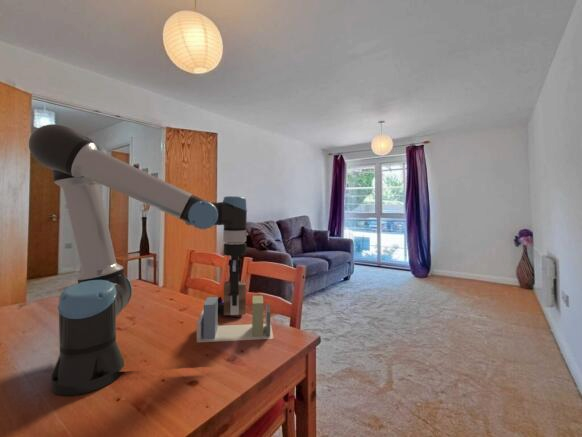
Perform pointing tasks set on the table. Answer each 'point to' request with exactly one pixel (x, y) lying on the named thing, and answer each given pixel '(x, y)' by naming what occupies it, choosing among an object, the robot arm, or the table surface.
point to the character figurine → (221, 309)
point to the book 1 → (210, 317)
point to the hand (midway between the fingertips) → (235, 311)
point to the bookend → (267, 319)
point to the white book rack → (230, 332)
